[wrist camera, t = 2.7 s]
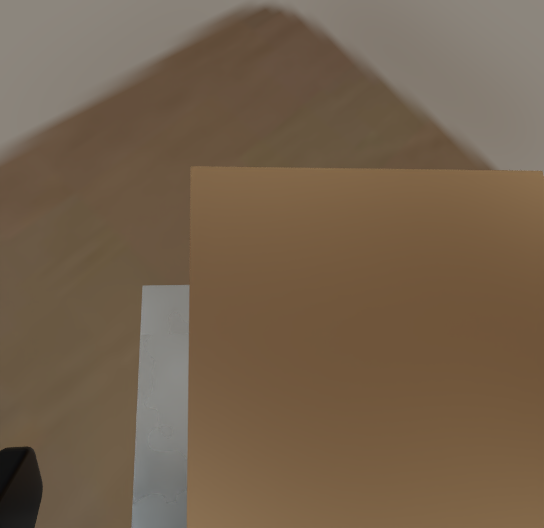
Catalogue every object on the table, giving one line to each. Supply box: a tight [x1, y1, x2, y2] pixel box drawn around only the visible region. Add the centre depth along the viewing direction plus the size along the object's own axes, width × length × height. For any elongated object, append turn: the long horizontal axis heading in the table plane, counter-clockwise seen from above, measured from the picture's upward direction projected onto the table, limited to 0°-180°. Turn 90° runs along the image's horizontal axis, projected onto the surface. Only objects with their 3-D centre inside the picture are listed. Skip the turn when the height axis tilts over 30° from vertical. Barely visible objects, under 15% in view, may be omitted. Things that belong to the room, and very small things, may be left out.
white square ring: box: [132, 285, 189, 528], centre depth 15 cm, size 8×8×2 cm
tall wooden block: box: [187, 166, 544, 528], centre depth 10 cm, size 4×4×13 cm
